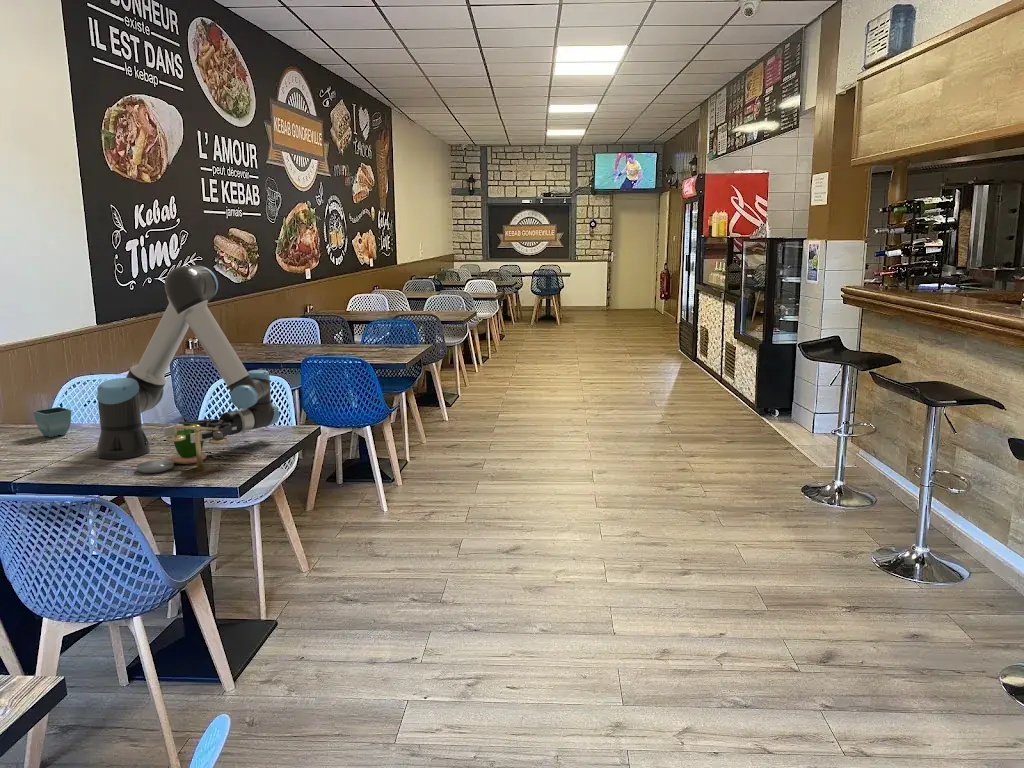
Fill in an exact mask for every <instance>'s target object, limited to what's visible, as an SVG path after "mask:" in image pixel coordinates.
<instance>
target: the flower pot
mask: <svg viewBox="0 0 1024 768" xmlns="http://www.w3.org/2000/svg"><path fill="white" fill-rule="evenodd" d="M33 416H34V421H35V425H36V426H37V429H38V430H39V431H40V433H41V434H42V435H43V436H45V437H49V438H54V436H55V437H59V436H58V435H61V436H64V435H63V434H65V435H66V434H67V433H68V431H69V429H70V427H71V424H72V409H69V408H65V407H59V406H57V407H51V408H45V409H39V410H33Z"/></svg>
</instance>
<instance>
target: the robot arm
mask: <svg viewBox="0 0 1024 768" xmlns="http://www.w3.org/2000/svg"><path fill="white" fill-rule="evenodd" d="M218 289H219V281H218V278H217V276H216V275H215V274H214V272H213V271H212V270H211V269H209V268H207V267H205V266H202V265H196V264H194V265H190V266H189V265H188V266H186V265H184V266H178V267H174V269H172V270H170V271H169V273H168V274H167V275H166V277H165V279H164V290H165V293H166V297H167V301H168V305H167V307H166V309H165V311H164V313H163V315H162V317H161V319H160V321H159V322H158V325H157V327H156V328H155V331H154V332H153V334H152V337H151V339H150V340H149V343H148V344H147V346H146V349H145V350H144V352H143V354H142V356H141V358H140V359H139V362H138V364H136V365H134V366H131V367H130V368H129V371H128V373H127V374H126V376H125V377H118V378H112V379H108V380H105V381H102V382H100V384H98V386H97V389H96V390H97V392H96V399H97V405H98V414H99V416H98V417H99V423H100V434H99V438H98V442H97V446H96V457H97V458H100V459H103V460H123V459H124V460H125V459H130V458H131V459H132V458H135V457H140V456H144V455H146V454H148V453H150V451H151V446H150V445H151V444H150V442H149V440H148V438H147V435H146V433H145V431H144V430H143V429H144V428H143V424H142V414H143V413H145V412H146V411H147V412H148V411H149V410H152V409H154V408H155V407H156V406H157V405H159V403H160V402H161V401H162V399H163V396H164V392H165V391H164V387H165V385H166V383H167V380H166V377H165V375H166V373H167V371H168V368H169V366H170V364H171V363H172V361H173V359H174V358H175V356H176V355H175V354H176V353H177V351H178V349H179V347H180V346H181V344H182V341H183V340H184V338H185V336H186V334H187V332H188V330H189V328H190V329H191V330H192V332H193V334H194V336H195V337H196V339H197V341H198V342H199V344H200V345H201V347H202V348H203V350H204V352H205V353H206V354H207V356H208V357H209V360H210V361H211V362H212V364H213V366H214V367H215V369H216V370H217V372H218V374H219V375H220V377H221V379H222V381H224V383H225V385H226V386H227V388H228V390H229V391H230V401H231V403H232V405H233V406H234V407H236V408H238V409H235V410H231V411H227V412H223V413H221V415H220V417H219V418H214V419H212V418H206V419H198V420H197V419H195V420H188V421H179V422H178V425H181V426H189V425H191V424H197V425H200V426H201V427H210V428H218V429H219V430H218V431H222V434H223V437H225V438H226V437H227V436H231V435H237V434H239V433H243V434H246V432H247V431H252V430H256V429H261V428H267V427H269V426H272V425H274V424H276V423H277V422H278V421H279V418H280V411H279V408H278V406H277V405H276V404H275V403H272V398H271V397H272V394H271V379H270V378H271V377H270V372H269V371H268V370H266V369H252V370H247V369H246V367H245V365H244V364H243V362H242V361H241V359H240V358H239V356H238V354H237V352H236V350H235V349H234V348H233V346H232V345H231V343H230V341H229V340H228V338H227V336H226V335H225V333H224V331H223V330H222V328H221V327H220V325H219V323H218V322H217V320H216V318H215V316H213V314H212V312H211V310H210V308H209V307H208V303H209V301H210V300H212V299H213V298H214V296H216V294H217V292H218ZM175 425H176V424H174V425H171V426H166V427H162V433H163V434H162V435H163V437H165V438H167V437H169V436H173V435H175V429H174V426H175ZM183 430H185V429H177V431H183ZM191 431H192V430H191ZM213 432H216V431H204V430H201V432H200V440H201V441H203V440H204V441H206V440H210V439H212V438H213ZM190 438H191V443H195V433H192V434H190Z"/></svg>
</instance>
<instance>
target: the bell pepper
mask: <svg viewBox="0 0 1024 768" xmlns="http://www.w3.org/2000/svg"><path fill="white" fill-rule="evenodd" d="M194 425H197V424H191V425H189V426H194ZM201 431H202V430H200V432H201ZM192 433H195V431H194V430H192V431H191V430H188V429H185V430H183V431H177V435H185V436H186V439H185V440H183V441H178V442H173V444H174V448H175V450H176V452H177V454H179V455H180V456H181V457H184V458H189V457H193V456H196V443H191V438H190V434H192ZM204 441H205V440H203V441H201V452H203V446H204Z"/></svg>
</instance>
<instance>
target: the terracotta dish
mask: <svg viewBox="0 0 1024 768" xmlns="http://www.w3.org/2000/svg"><path fill="white" fill-rule="evenodd" d="M201 454H202V461H205V460H206V459H207V453H206V452H204V451H201ZM170 460H171V461H173V462H174V464H179V465H190V464H191V465H192V464H197V457H196V456H193V457H189V458H184V457H181V456H180V455H179V454H178V453H176V454H174V455H172V456H171V457H170Z"/></svg>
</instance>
